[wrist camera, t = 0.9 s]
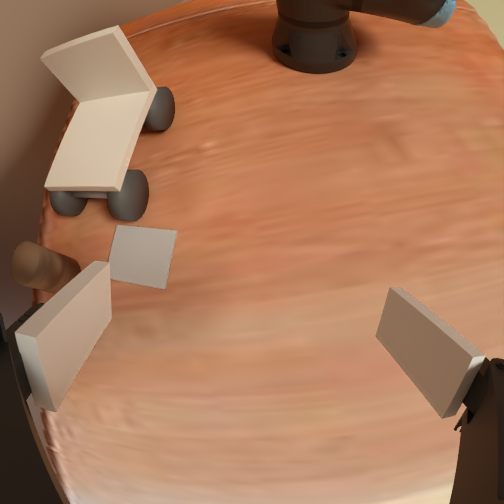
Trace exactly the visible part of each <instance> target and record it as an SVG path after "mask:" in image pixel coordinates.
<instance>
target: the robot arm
mask: <svg viewBox="0 0 504 504" xmlns="http://www.w3.org/2000/svg"><path fill="white" fill-rule="evenodd" d="M455 1H456V0H276V3H277V9H278V19H277V22H276V26H275V29H274V33H273V37H272V45H273V51H274V54H275V56H276V58H277V59H278V60H279V61H280V62H281V63H283V64H284V65H286V66H288V67H290V68H292V69H295V70H298V71H302V72H307V73H330V72H335V71H338V70H341V69H344V68H346V67H347V66H349V65H350V64H351V63H352V62H353V61H354V59H355V57H356V53H357V40H356V37H355V34H354V31H353V28H352V25H351V22H350V19H349V11H355V12H361V13H366V14H371V15H376V16H381V17H386V18H390V19H394V20H398V21H402V22H406V23H410V24H412V25H417V26H425V27H430V28H438V27H441V26H443V25H444V24H446V23H447V22H448V20H449V19H450V18H451V16H452V14H453V12H454V10H455V7H456V2H455ZM111 319H112V310H111V288H110V262H102V261H93V262H92V263H91V264H90V265H89V266H87V267H86V268H85V269H84V270H83V271H82V272H80V273H79V274H78V275H77V276H76V277H75V278H73V279H72V280H71V281H70V282H69V283H68V284H66V285H65V286H64V287H63V288H62V289H61V290H60V291H58V292H57V293H56V294H55V295H54V296H53V297H52V298H51V299H50V300H48V301H47V302H46V303H45V304H44V303H40V304H38V305H36V306H33V307H31V308H30V309H29V310H28V311H27V312H26V313H24V315H22V316H21V317H20V318H19V319H18V321H15V322H14V323H13V324H12V325H11V326H10V327H9V328H8V329H7V330H6V331H5V327H4V322H3V317H2V315H1V313H0V504H70V502H69V501H68V499H67V497H66V495H65V493H64V491H63V489H62V487H61V485H60V483H59V481H58V479H57V477H56V475H55V473H54V471H53V468H52V466H51V464H50V462H49V459H48V457H47V455H46V452H45V450H44V448H43V445H42V443H41V440H40V438H39V435H38V432H37V430H36V427H35V424H34V421H33V418H32V416H31V413H30V410H29V407H28V404H27V401H26V400H27V398H28V397H29V395H30V394H31V393H32V396H33V399H34V401H35V404H36V406H37V407H40V408H44V409H47V410H50V411H53V412H56V411H57V409H58V407H59V405H60V404H61V402H62V400H63V398H64V397H65V395H66V393H67V391H68V389H69V388H70V386H71V384H72V382H73V381H74V379H75V377H76V376H77V374H78V372H79V371H80V369H81V367H82V365H83V364H84V362H85V360H86V359H87V357H88V356H89V354H90V352H91V351H92V349H93V347H94V346H95V344H96V343H97V341H98V339H99V338H100V336H101V335H102V333H103V331H104V330H105V328H106V327H107V325H108V324H109V322H110V320H111ZM376 337H377V339H378V340H379V341H380V342H381V343H382V345H383V346H384V347H385V348H386V349H387V351H388V352H389V353H390V354H391V355H392V357H393V358H394V359H395V360H396V362H397V363H398V364H399V365H400V367H401V368H402V369H403V370H404V371H405V373H406V374H407V375H408V376H409V378H410V379H411V380H412V381H413V383H414V384H415V385H416V386H417V388H418V389H419V390H420V391H421V393H422V394H423V395H424V397H425V398H426V399H427V400H428V402H429V403H430V404H431V405H432V407H433V408H434V409H435V411H436V412H437V413H438V414H439V416H440V417H441V418H446V417H450V416H454V415H456V413H457V411H458V409H459V408H460V406H461V404H462V402H463V403H464V405H465V406H466V407H467V408H466V410H465V411H464V413H463V415H462V416H461V418H460V420H459V421H458V423H457V425H456V426H455V428H454V430H455V431H456V430H457V428H458V427H460V426H462V427H461V429H460V431H459V432H461V437H460V446H459V454H458V461H457V467H456V473H455V479H454V484H453V490H452V494H451V499H450V504H504V359H499V358H493V359H492V360H491V361H489V360H488V359H487V358H486V357H485V356H486V355H485V354H484V353H483V352H481V351H480V350H479V349H478V348H477V347H475V346H474V345H473V344H472V343H471V342H469V341H468V340H467V339H466V338H465V337H463V336H462V335H461V334H460V333H459V332H457V331H456V330H455V329H454V328H452V327H451V326H450V325H449V324H448V323H446V322H445V321H444V320H443V319H441V318H440V317H439V316H438V315H436V314H435V313H434V312H432V311H431V310H430V309H429V308H427V307H426V306H425V305H424V304H422V303H421V302H420V301H418V300H417V299H416V298H415V297H413V296H412V295H411V294H409V293H408V292H407V291H405V290H404V289H403V288H396V287H390V288H389V292H388V295H387V299H386V303H385V306H384V310H383V313H382V317H381V320H380V323H379V327H378V330H377V333H376Z"/></svg>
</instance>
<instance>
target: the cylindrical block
mask: <svg viewBox="0 0 504 504" xmlns="http://www.w3.org/2000/svg"><path fill="white" fill-rule="evenodd" d="M80 272H81V271H80V266H79V264H78V263H77V261H76V260H74V259H72V258H70V257H67V256H65V255H62V254H60V253H57V252H55V251H52V250H50V249H47V248H45V247H42V246H40V245H37V244H35V243H32V242H30V241H24V242H22V243H21V244H19V245H18V247H17V248H16V250H15V252H14V254H13V257H12V261H11V274H12V278H13V280H14V281H15V282H16V283H17V284H19V285H23V286H27V287H31V288H35V289H39V290H43V291H47V292H52V293H57V292H58V291H60V290H61V289H62V288H63V287H64V286H65V285H66V284H68V283H69V282H70V281H71V280H72V279H73V278H75V277H76V276H77V275H78V274H79V273H80Z"/></svg>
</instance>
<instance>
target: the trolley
mask: <svg viewBox="0 0 504 504" xmlns="http://www.w3.org/2000/svg"><path fill="white" fill-rule="evenodd" d="M40 59H41V61H42V62H43V63H44V64H45V65H46V66H47V67H48V68H49V69H50V71H51V72H52V73H53V74H54V75H55V76H56V77H57V78H58V79H59V80H60V82H61V83H62V84H63V85H64V86H65V87H66V88H67V89H68V90H69V92H70V93H71V94H72V95H73V96H74V97H75V98H76V99H77V100H78V101H79V102H80V104H79V105H78V107H77V109H76V112H75V114H74V116H73V118H72V120H71V122H70V124H69V126H68V128H67V131H66V133H65V135H64V137H63V140H62V142H61V144H60V147H59V149H58V151H57V154H56V156H55V159H54V161H53V164H52V166H51V169H50V172H49V174H48V177H47V180H46V183H45V186H44V187H45V188H46V189H48V190H50V203H51V206H52V208H53V210H54V211H55V212H56V213H57V214H59V215H64V216H76V215H78V214H80V213H81V212H82V211H83V209H84V208H85V206H86V204H87V200H88V198H107V202H108V207H109V210H110V212H111V214H112V216H113V217H114V218H116V219H118V220H129V221H136V220H138V219H140V218H141V217H142V215H143V214H144V212H145V210H146V207H147V204H148V198H149V187H148V182H147V178H146V176H145V175H144V173H143V172H142V171H140V170H127V168H128V165H129V162H130V159H131V156H132V154H133V151H134V148H135V145H136V142H137V139H138V137H139V134H140V131H141V129H142V126H143V124H144V126H145V127H146V129H148V130H150V131H153V130H166V129H168V128H169V127H170V126H171V124H172V122H173V119H174V114H175V102H174V97H173V94H172V92H171V91H170V89H169V88H167V87H158V88H156V87H155V85H154V83H153V82H152V80H151V78H150V77H149V75H148V73H147V72H146V70H145V68H144V67H143V65H142V63H141V62H140V60H139V58H138V57H137V55H136V54H135V52H134V50H133V49H132V47H131V45H130V44H129V42H128V40H127V39H126V37H125V35H124V34H123V32H122V30H121V29H120V27H119V26H114V27H111V28H107V29H104V30H101V31H98V32H95V33H92V34H89V35H86V36H83V37H80V38H77V39H74V40H72V41H69V42H67V43H64V44H61V45H59V46H57V47H54V48H52V49H49V50H47V51H45V52H44V54H43V55H42V56H41V58H40Z"/></svg>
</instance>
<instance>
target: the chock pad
mask: <svg viewBox="0 0 504 504" xmlns="http://www.w3.org/2000/svg"><path fill="white" fill-rule="evenodd" d="M176 236H177V231H176V230H166V229H156V228H145V227H135V226H124V225H117V227H116V231H115V235H114V239H113V243H112V247H111V252H110V256H109V260H108V262H110V279H111V280H116V281H122V282H127V283H132V284H137V285H143V286H148V287H153V288H159V289H164V290H166V285H167V280H168V274H169V269H170V264H171V259H172V255H173V250H174V245H175V240H176Z"/></svg>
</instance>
